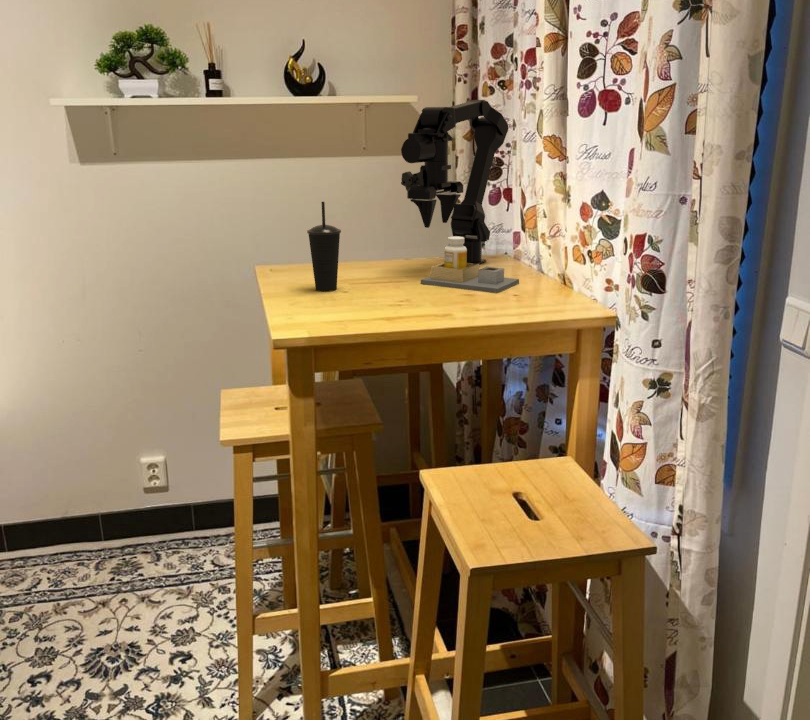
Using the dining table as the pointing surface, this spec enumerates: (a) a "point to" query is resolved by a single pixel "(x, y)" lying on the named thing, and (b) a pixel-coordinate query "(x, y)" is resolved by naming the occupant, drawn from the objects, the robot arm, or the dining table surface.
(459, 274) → the square wooden frame
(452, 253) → the supplement bottle
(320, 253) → the drinking cup
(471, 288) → the fitting board
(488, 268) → the steel collar
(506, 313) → the dining table surface
